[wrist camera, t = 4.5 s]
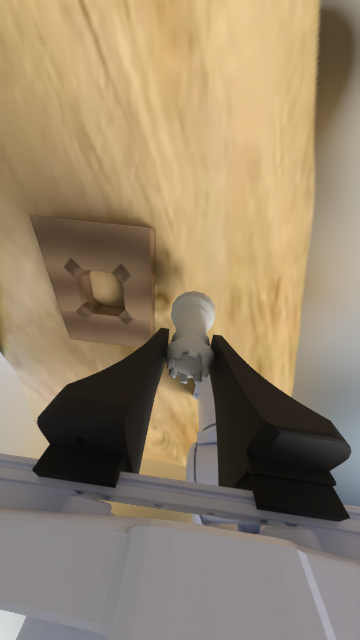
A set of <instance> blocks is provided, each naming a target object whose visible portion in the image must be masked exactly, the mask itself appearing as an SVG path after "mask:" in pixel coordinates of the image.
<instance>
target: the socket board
mask: <svg viewBox="0 0 360 640" xmlns="http://www.w3.org/2000/svg"><path fill="white" fill-rule="evenodd" d="M29 216H30V219H31V222H32V225H33V228H34V231H35V234H36V237H37V240H38V243H39V246H40V249H41V252H42V255H43V258H44V262H45V265H46V268H47V271H48V274H49V277H50V280H51V283H52V286H53V289H54V292H55V295H56V298H57V301H58V304H59V307H60V311H61V314H62V317H63V320H64V323H65V326H66V329H67V332H68V335H69V338H70V339H76V340H84V341H92V342H100V343H107V344H115V345H123V346H131V347H139V348H140V347H141V346H142V345H144V344H145V343H146V342H147V341H148V340H149V339H150V338H151V337H153V336H154V315H155V240H156V229H152V228H149V227H139V226H130V225H121V224H111V223H102V222H93V221H84V220H74V219H65V218H56V217H46V216H37V215H29ZM92 270H93V271H102V272H110V273H113V274H114V275H115V276H116V277H117V278H118V279H119V281H120V282H121V283H122V284H123V292H124V303H125V309H121V308H113V307H104V306H102V305H101V304H100V303H99V302H97V301H96V300H95V299H94V297H93V292H92V287H91V282H90V277H89V274H90V272H91V271H92Z"/></svg>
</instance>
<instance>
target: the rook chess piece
mask: <svg viewBox="0 0 360 640" xmlns="http://www.w3.org/2000/svg"><path fill="white" fill-rule="evenodd" d="M171 317H172V321H173V324H174V326H175V327H176V333H175V334H174V335H173V336H172V341H171V343H170V344H169V346H168V347H167V348H166V349H165V354H164V358H165V361H166V363H167V368H168V369H170V370H169V375H170V376H171V377H172V378H173V379H174V378H175V377H176V376H177V375H179V376H180V382H181V383H185V384H187V380H188V378H193V381H194V383H195V384H196V383H200V382H202V375H203V377H206V378H207V377H208V375H209V369H210V368H212V365H213V363H214V361H215V359H214V353H213V351H212V350H211V348H210V347H209V346H210V343H209V338H208V337H207V331H208V330H209V329H210V328H211V327H212V325H213V322H214V319H215V306H214V304H213V302H212V300H211V299H210V298H209V297H208V296H206V295H205V294H203V293H200V292H196V291H192V292H185V293H184V294H182V295H180V296H179V297H177V299H176V300H175V302H174V303H173V307H172V312H171Z"/></svg>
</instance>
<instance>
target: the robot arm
mask: <svg viewBox="0 0 360 640" xmlns="http://www.w3.org/2000/svg"><path fill="white" fill-rule="evenodd" d="M168 339H169V329H166V328H160V329H159V330H158V331H157V332H156V334H155V335H154V336H153V337H151V338H150V339H149V340H148V341H147V342H146V343H145V344H144V345H142V346H141V347H140V348H139V349H138V350H136V351H135V352H134V353H132V354H131V355H129V356H128V357H126V358H125V359H123V360H121V361H119V362H118V363H116V364H114V365H112V366H110V367H108V368H106V369H104V370H102V371H100V372H98V373H96V374H93V375H91V376H88V377H86V378H83V379H81V380H78V381H76V382H73V383H70V384H67V385H66V386H65V387H64V388H63V389H62V390H61V391H60V392H59V393H58V395H57V396H56V397H55V398H54V399H53V400H52V402H51V403H50V404H49V405H48V406H47V407H46V408H45V410H44V411H43V412H42V413H41V414H40V415H39V417H38V420H37V424H38V427H39V429H40V430H41V432H42V433H43V435H44V436H45V438H46V439H47V440H48V442H49V443H50V445H49V446H48V448H47V449H46V450H45V452H44V453H43V455H42V456H41V458H40V459H33V458H27V457H20V456H13V455H7V454H0V609H1V610H5V611H10V612H14V613H18V614H22V615H26V619H25V621H24V623H23V625H22V628H21V630H20V632H19V634H18V637H17V639H16V640H360V507H356V506H349V505H343V504H342V502H341V500H340V499H339V497H338V495H337V493H336V492H335V490H334V488H333V486H335V485H336V481H335V480H334V478H333V477H332V475H331V473H330V470H332V469H333V468H335V467H337V466H338V465H340V464H341V463H343V462H344V461H345V460H347V459H348V458H349V456H350V454H351V448H350V446H349V444H348V443H347V442H346V440H345V439H344V438H343V436H342V435H341V434H340V433H339V431H338V430H337V429H336V427H335V426H334V425H333V423H332V422H331V421H330V420H328V419H326V418H324V417H323V416H321V415H319V414H318V413H316V412H314V411H312V410H310V409H309V408H307V407H306V406H304V405H302V404H301V403H299V402H297V401H296V400H294V399H293V398H291V397H290V396H288V395H287V394H285V393H284V392H282V391H281V390H279V389H278V388H277V387H275V386H274V385H272V384H271V383H270V382H268V381H267V380H266V379H265V378H263V377H262V376H261V375H260V374H258V373H257V372H256V371H255V370H254V369H253V368H251V367H250V366H249V365H248V364H247V363H246V362H245V361H244V360H243V359H242V358H241V357H240V356H239V355H238V354H237V353H236V352H235V350H234V349H233V348H232V347H231V346H230V345H229V344H228V342H227V341H226V340H225V339H224V338H223V337H222V336H220V335H213V338H212V342H211V346H210V348H211V350H212V351H213V353H214V359H215V361H214V363H213V365H212V368H210V369H209V375H208V377H207V378H206V377H203V375H202V382H200V383H196V384H195V389H194V394H193V398H194V399H198V412H199V432H197V442H193V443H192V445H191V448H190V449H189V452H188V456H187V464H186V481H180V480H174V479H168V478H160V477H154V476H148V475H141V474H139V470H140V465H141V460H142V455H143V450H144V445H145V440H146V435H147V431H148V426H149V421H150V416H151V412H152V407H153V402H154V398H155V394H156V390H157V387H158V384H159V381H160V377H161V374H162V371H163V368H164V365H165V358H164V354H165V349H166V348H167V347H168ZM97 499H99V500H97ZM100 500H105V501H112V502H118V503H125V504H131V505H138V506H144V507H152V508H158V509H165V510H171V511H178V512H184V513H191V514H192V517H193V523H185V522H177V521H169V520H159V519H149V518H137V517H123V516H116V515H114V514H113V513H112V512H111V508H112V507H111V504H110V503H107V502H104V501H100Z"/></svg>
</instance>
